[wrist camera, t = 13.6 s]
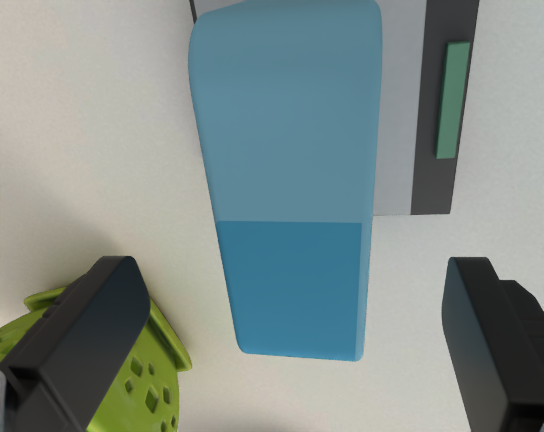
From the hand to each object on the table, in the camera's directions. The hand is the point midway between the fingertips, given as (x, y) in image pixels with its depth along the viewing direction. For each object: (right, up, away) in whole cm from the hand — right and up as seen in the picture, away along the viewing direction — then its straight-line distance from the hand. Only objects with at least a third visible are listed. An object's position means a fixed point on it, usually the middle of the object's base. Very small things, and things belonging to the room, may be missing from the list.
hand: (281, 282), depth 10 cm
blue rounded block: (+2, +7, +11) cm, 14 cm away
